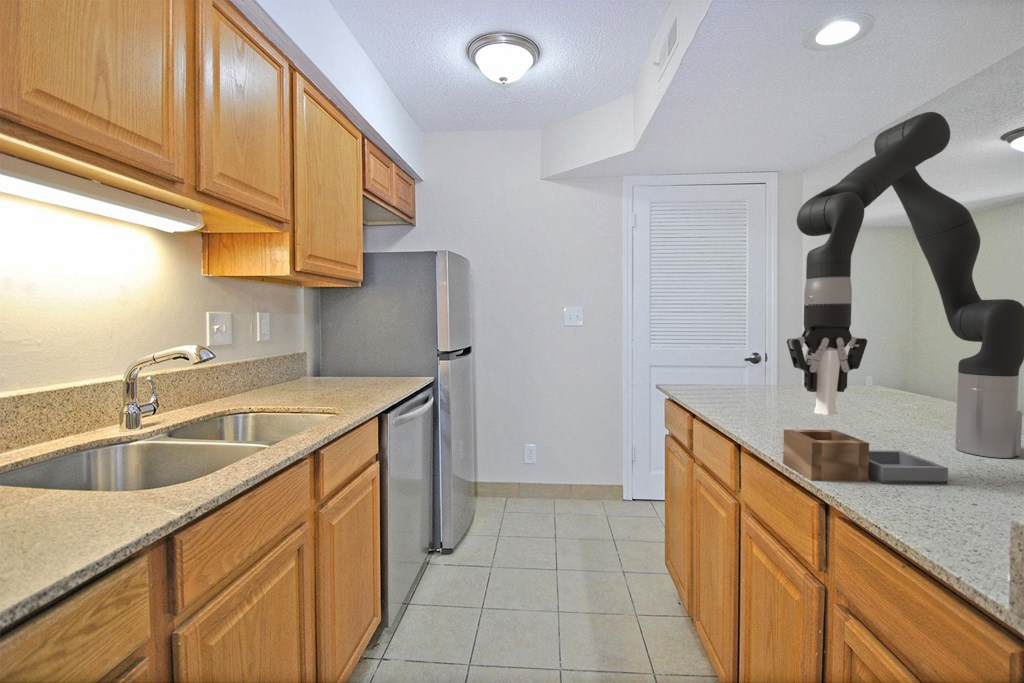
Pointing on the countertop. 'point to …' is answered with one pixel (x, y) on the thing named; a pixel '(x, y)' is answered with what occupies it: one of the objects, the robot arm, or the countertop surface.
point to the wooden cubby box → (826, 455)
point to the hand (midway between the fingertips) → (825, 391)
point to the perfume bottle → (827, 382)
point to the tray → (904, 468)
